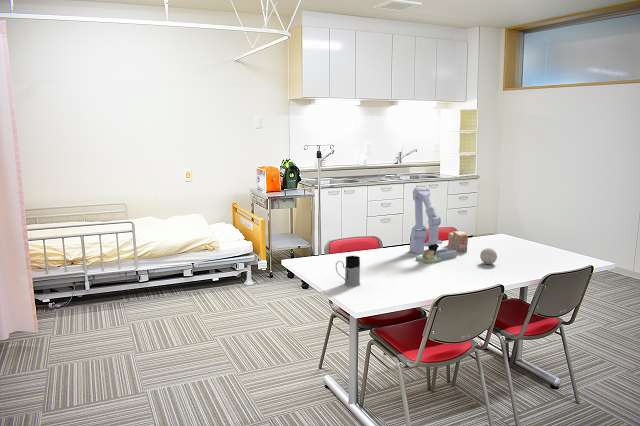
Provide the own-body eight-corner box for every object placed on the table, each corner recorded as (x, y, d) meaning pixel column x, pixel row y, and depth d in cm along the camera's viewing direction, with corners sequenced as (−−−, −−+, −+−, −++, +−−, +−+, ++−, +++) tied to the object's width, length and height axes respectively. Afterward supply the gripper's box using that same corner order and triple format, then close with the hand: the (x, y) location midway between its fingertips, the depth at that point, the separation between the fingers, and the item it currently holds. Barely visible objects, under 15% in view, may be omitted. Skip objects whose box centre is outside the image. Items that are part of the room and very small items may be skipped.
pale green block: (415, 260, 333) (416, 253, 332) (444, 254, 348) (444, 247, 348) (429, 264, 323) (430, 257, 323) (458, 257, 339) (458, 251, 338)
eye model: (481, 265, 321) (482, 250, 319) (478, 261, 331) (479, 246, 329) (497, 266, 320) (499, 250, 318) (494, 262, 329) (495, 246, 328)
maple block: (422, 257, 331) (422, 250, 330) (427, 256, 333) (428, 249, 333) (428, 259, 327) (428, 251, 326) (433, 258, 329) (434, 250, 329)
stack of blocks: (447, 245, 374) (448, 228, 372) (456, 245, 375) (457, 228, 373) (458, 252, 353) (459, 234, 351) (467, 252, 354) (468, 234, 352)
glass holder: (363, 285, 280) (363, 258, 277) (338, 288, 275) (338, 261, 273) (356, 281, 288) (357, 254, 286) (332, 283, 283) (333, 256, 281)
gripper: (430, 237, 323) (429, 258, 325) (446, 235, 331) (445, 255, 334) (422, 235, 329) (421, 256, 331) (437, 233, 337) (436, 253, 339)
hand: (432, 255), depth 333 cm, fingers closed
